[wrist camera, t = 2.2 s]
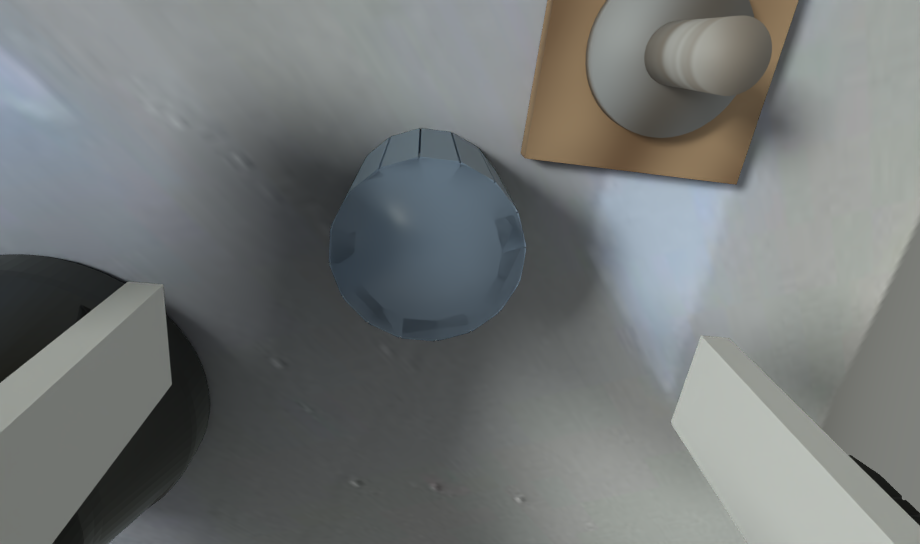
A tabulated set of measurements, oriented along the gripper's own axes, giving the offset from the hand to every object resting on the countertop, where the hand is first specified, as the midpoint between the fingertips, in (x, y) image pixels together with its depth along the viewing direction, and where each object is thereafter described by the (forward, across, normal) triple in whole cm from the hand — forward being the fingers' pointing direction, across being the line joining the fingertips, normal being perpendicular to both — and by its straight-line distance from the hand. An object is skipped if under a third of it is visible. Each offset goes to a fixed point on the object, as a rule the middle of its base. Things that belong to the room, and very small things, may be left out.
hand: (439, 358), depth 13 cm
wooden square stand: (+13, +9, +8) cm, 18 cm away
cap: (+13, 0, 0) cm, 13 cm away
